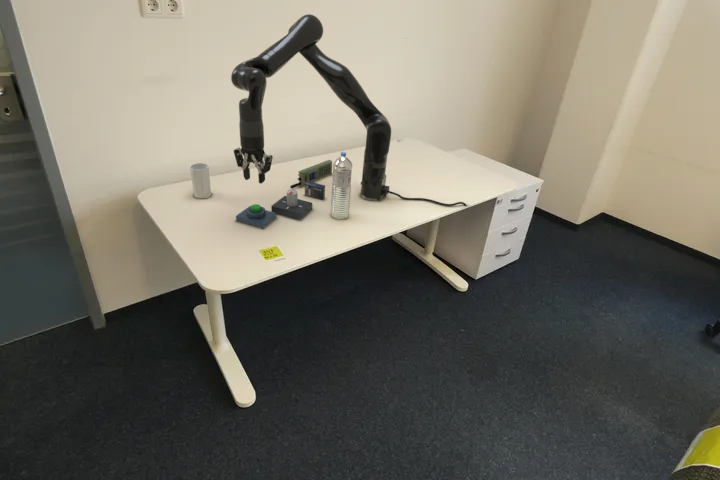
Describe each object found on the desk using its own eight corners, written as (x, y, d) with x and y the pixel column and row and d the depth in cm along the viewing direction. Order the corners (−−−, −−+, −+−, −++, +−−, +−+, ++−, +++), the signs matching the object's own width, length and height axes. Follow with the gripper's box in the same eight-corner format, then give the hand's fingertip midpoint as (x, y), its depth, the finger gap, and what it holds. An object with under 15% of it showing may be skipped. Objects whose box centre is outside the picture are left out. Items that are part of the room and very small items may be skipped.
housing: (276, 218, 156) (276, 208, 154) (262, 229, 149) (262, 219, 147) (250, 210, 159) (249, 201, 157) (236, 221, 152) (235, 211, 150)
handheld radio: (333, 175, 194) (294, 191, 176) (327, 173, 196) (288, 189, 178) (333, 161, 191) (293, 176, 173) (327, 159, 192) (287, 174, 175)
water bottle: (341, 221, 158) (346, 157, 145) (326, 215, 161) (329, 152, 148) (351, 214, 163) (356, 152, 150) (337, 209, 166) (340, 147, 153)
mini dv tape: (304, 195, 174) (305, 182, 171) (306, 194, 175) (306, 180, 172) (322, 200, 172) (323, 186, 168) (324, 198, 173) (325, 185, 170)
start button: (263, 209, 153) (262, 205, 152) (257, 214, 150) (257, 209, 150) (254, 207, 154) (254, 203, 153) (248, 211, 151) (248, 207, 150)
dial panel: (312, 209, 164) (312, 202, 163) (300, 220, 156) (300, 213, 155) (284, 202, 167) (284, 195, 166) (271, 212, 159) (271, 205, 158)
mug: (215, 195, 167) (212, 167, 161) (199, 200, 163) (195, 171, 157) (202, 186, 173) (198, 159, 167) (186, 191, 169) (182, 162, 162)
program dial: (289, 200, 162) (289, 188, 160) (299, 203, 161) (299, 190, 159) (285, 205, 159) (284, 192, 156) (294, 207, 158) (294, 194, 155)
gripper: (277, 133, 138) (278, 181, 147) (239, 125, 142) (242, 172, 151) (264, 140, 132) (266, 189, 141) (225, 131, 136) (230, 180, 145)
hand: (254, 180), depth 146 cm, fingers open, 5 cm apart
